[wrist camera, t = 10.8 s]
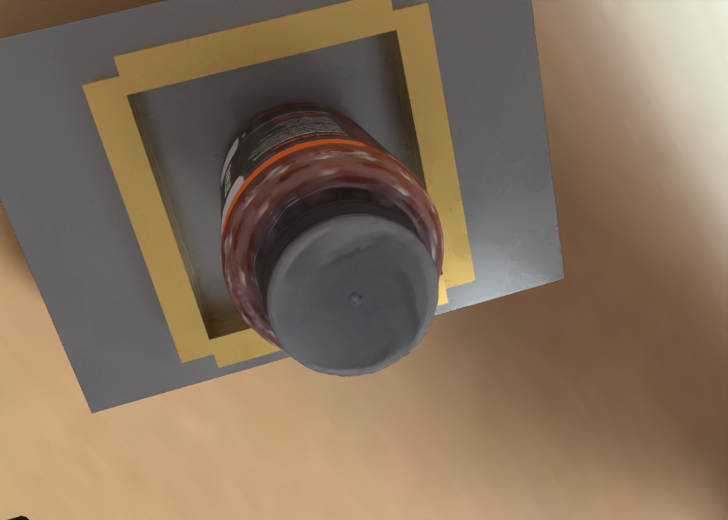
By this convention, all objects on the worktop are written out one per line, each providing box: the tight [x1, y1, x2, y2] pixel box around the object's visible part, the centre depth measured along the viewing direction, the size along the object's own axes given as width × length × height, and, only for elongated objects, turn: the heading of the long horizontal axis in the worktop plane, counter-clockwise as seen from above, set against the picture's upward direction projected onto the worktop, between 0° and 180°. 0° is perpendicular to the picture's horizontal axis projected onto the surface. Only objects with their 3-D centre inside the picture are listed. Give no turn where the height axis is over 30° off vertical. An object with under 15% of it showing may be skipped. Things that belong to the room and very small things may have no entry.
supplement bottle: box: [220, 104, 444, 377], centre depth 21 cm, size 6×6×11 cm
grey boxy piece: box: [0, 0, 564, 413], centre depth 27 cm, size 20×17×8 cm
